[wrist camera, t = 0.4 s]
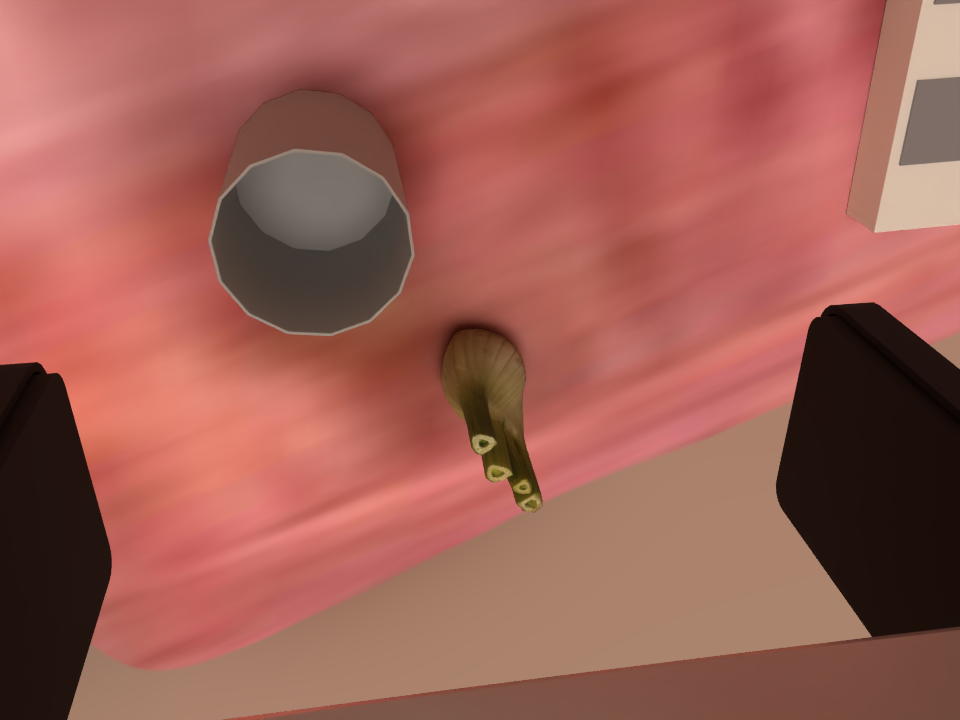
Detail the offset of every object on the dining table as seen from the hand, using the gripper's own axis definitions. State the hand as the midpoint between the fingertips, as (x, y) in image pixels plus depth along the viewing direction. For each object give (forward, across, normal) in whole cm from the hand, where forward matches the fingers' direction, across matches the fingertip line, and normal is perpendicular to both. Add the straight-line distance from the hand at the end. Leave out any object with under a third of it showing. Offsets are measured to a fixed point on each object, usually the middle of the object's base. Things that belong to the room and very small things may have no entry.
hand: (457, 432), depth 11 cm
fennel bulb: (+36, -6, +19) cm, 41 cm away
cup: (+36, +3, +8) cm, 36 cm away
